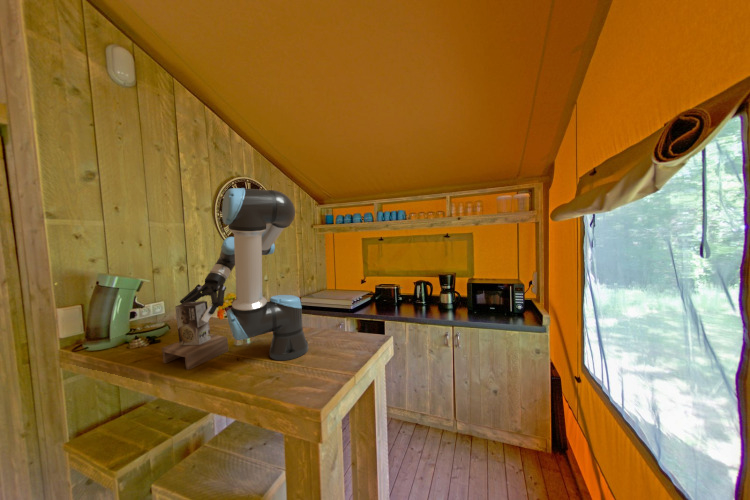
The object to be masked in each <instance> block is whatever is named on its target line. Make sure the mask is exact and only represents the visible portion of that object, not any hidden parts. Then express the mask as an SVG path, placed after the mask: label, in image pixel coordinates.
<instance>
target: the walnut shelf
mask: <svg viewBox="0 0 750 500" xmlns="http://www.w3.org/2000/svg"><path fill="white" fill-rule="evenodd" d="M210 337H211V339H210V340H208V341H206V342H204V343H203V344H201V345H180V343H179V341H176V342H174V343H172V344H168V345H166V346H163V347H161V352H162V353H161V354H162V360H163V361H162V362H163V363H164V364H167V363H169V362H172V361H174V360H176V359H179V358H184V361H185V369H186V370H188V371H189V370H191V369H194V368H196V367H197V366H199V365H202V364H204V363H205V362H208V361H211V360H212V359H214V358H216V357H218V356H220V355H223V354H224V353H227V352H229V341H228V339H229V338H228V336H223V335H218V334H212V333H210Z"/></svg>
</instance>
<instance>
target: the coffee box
mask: <svg viewBox="0 0 750 500" xmlns="http://www.w3.org/2000/svg"><path fill="white" fill-rule="evenodd" d="M208 307H209V306H208V301H206V300H205V301H195V302H186V303H183V304H181V303H180V304H179V305H175V306H174V308H175V316H176V317H177V320H176V324H177V325H176V326H177V331H178V333H177V334H178V342H179V343H180V345H201V344H203V343H204V342H206V341H208V340H210V339H211V337H210V334H211V327H210V320H209V321H208V322H207V323H205V322H204V321H202V320H201V319H202V317H203V315H204V314H205V312H206V310H207V309H208Z"/></svg>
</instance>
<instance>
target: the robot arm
mask: <svg viewBox="0 0 750 500" xmlns="http://www.w3.org/2000/svg"><path fill="white" fill-rule="evenodd" d="M221 215H222V216H221V217H222V218H221V219H222V222H223V224H225V225H227V226H228V230H229V231H230V232H231V233H232V234H233V236H228V237H226V238H225V239H224V240H223V242H222V244H221V246H220V247H221V248H220V249H221V250H220V254H219V257H218V258H217V260H216V262H215V264H214V265H213V266H212V268H211V269H210V271H209V273H208V274H207V275H206V277H205V278H204V284H202V285H201V284H200V283H198V284H197V285H196V286H195V287H194V288H193V289H192V290H191V291H190V292H189V293H188V294H186V295H185V296H184V297H183V298H181V300H180V301H179V303H180V304H183V303H186V302H197V301H199V299H201V298H204V297H207V296H210V299H211V304H209V305H208V306H207V307H208V309H207V310H206V312H205V314H204V315H203V317H202V319H201V320H202V321H204V322H205V323H207V322H208V321H209V322H210V319H211V317H212V316H213V315H214V314H215V312H216V310H217V308H219V307H223V305H224V302H225V301H224V300H225V291H226V289H227V287H226V286H225V283H226V281H227V279H228V278H229V276H230V274H231V272H232V271H233V269H234V268H235V272H234V274H235V295H236V298H235V299H234V300H233V301H232V302H231V308H229V309H227V310H226V317H227V321H228V325H229V329H230V331H231V334H232V337H233V338H234V340H236V341H241V340H246V339H247V340H248V339H250V338H254V337H258V336H261V335H264V334H268V333H271V332H272V338H271V342H270V347H269V350H268V352H269V357H270V358H271V360H275V361H287V360H288V361H289V360H293V359H294V360H295V359H296V358H300V357H301V356H303V355H305V354H306V353H307V352H308V351H309V342H308V340H307V339H306V338H307V337H306V336H305V333H304V331H303V330H304V327H303V311H302V308H303V306H302V302H301V301H302V300H301V298H300V297H299V296H296V295H292V294H291V295H290V294H279V295H277V294H276V295H273V296H271V297H270V298H269V301H268V300H267V298H266V297H264V296H263V256H268V255H272V254H274V253H275V249H276V246H275V242H276V241H277V239H278V238H279V237H280V235H281V234H282V233H283V231H284V230H285V229H286V228H288V227H290V225H292V223H293V221H294V219H295V217H296V208H295V206H294V203H293V202H292V200H291V198H290V197H289V196H288V195H286V193H284V192H281V191H279V190H275V189H274V190H272V189H259V188H258V189H257V188H245V187H241V188H240V187H237V188H236V187H233V188H232V187H230V188H229V189H227V190H226V191H225V193H224V197H223V201H222V207H221ZM173 319H174V320H175V321H177V317H176V315H174V317H173Z"/></svg>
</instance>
